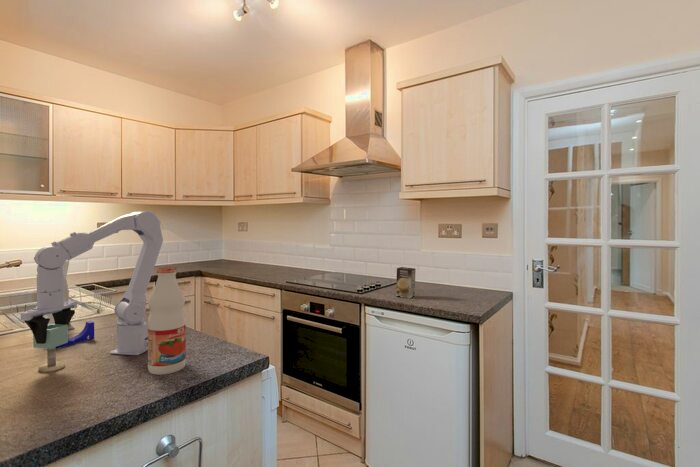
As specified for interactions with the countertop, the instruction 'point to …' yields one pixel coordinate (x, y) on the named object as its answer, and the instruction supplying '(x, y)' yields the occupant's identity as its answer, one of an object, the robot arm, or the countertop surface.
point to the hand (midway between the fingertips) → (51, 339)
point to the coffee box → (405, 282)
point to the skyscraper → (66, 295)
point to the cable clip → (81, 335)
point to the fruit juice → (166, 325)
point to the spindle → (51, 362)
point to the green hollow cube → (54, 336)
